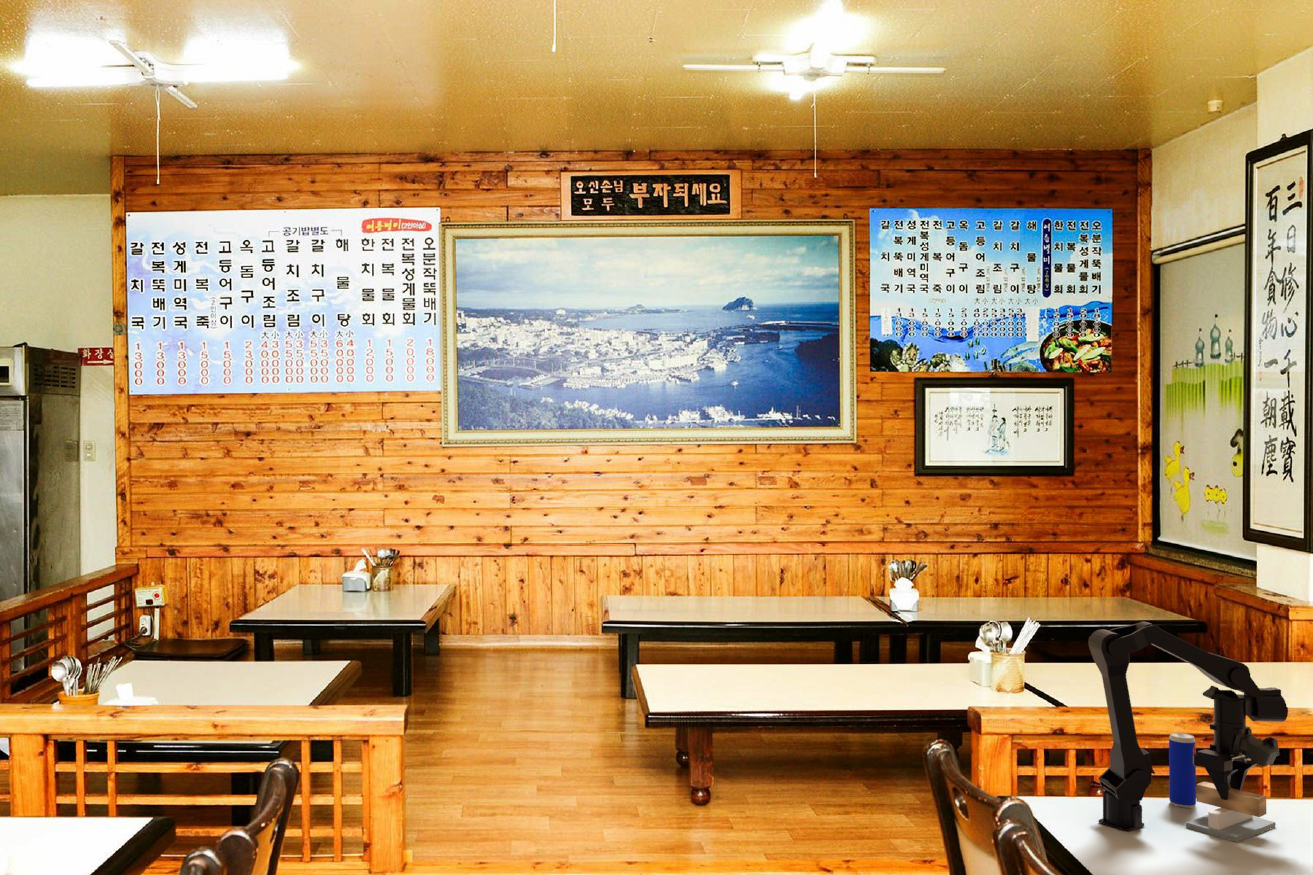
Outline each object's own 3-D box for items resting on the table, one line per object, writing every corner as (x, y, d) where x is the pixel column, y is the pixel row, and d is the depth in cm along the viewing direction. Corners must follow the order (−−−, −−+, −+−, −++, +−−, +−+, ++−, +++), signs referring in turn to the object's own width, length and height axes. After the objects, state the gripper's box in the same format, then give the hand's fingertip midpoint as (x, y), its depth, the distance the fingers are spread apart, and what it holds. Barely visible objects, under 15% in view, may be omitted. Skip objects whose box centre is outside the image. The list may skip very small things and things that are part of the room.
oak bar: (1196, 801, 208) (1196, 784, 208) (1204, 798, 210) (1204, 781, 211) (1259, 817, 199) (1258, 799, 199) (1266, 813, 201) (1266, 796, 201)
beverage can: (1199, 809, 216) (1198, 739, 216) (1173, 807, 217) (1173, 737, 217) (1191, 801, 221) (1191, 733, 221) (1166, 799, 222) (1165, 731, 222)
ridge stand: (1185, 827, 204) (1185, 807, 204) (1225, 813, 213) (1224, 794, 213) (1236, 842, 196) (1236, 821, 196) (1275, 826, 205) (1275, 807, 205)
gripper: (1249, 735, 194) (1249, 816, 193) (1293, 723, 204) (1294, 800, 203) (1191, 723, 203) (1191, 801, 202) (1236, 712, 213) (1237, 786, 213)
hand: (1230, 797), depth 205 cm, fingers open, 5 cm apart
